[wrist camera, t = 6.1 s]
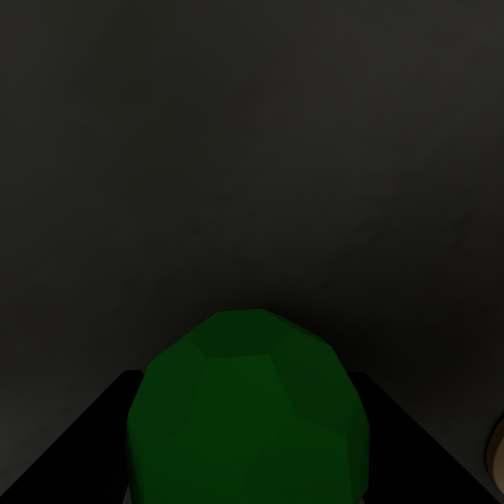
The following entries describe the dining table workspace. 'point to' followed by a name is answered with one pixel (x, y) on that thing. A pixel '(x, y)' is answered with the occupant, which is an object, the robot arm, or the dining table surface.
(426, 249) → the dining table surface
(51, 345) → the dining table surface
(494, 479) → the coaster
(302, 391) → the polyhedron
